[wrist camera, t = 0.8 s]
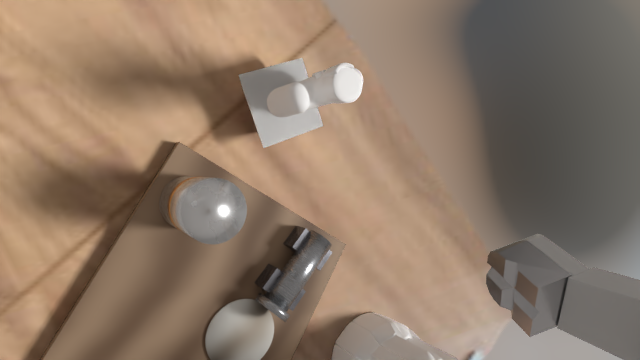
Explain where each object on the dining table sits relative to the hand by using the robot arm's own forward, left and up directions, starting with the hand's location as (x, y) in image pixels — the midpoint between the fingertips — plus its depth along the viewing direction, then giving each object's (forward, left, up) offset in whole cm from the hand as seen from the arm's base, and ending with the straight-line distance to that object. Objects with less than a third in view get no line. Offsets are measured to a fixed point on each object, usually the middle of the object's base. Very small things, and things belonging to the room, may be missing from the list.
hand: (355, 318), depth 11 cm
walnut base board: (+10, -7, -32) cm, 34 cm away
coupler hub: (+2, +2, -31) cm, 31 cm away
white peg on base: (+5, +15, -32) cm, 36 cm away
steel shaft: (+15, +1, -31) cm, 34 cm away
